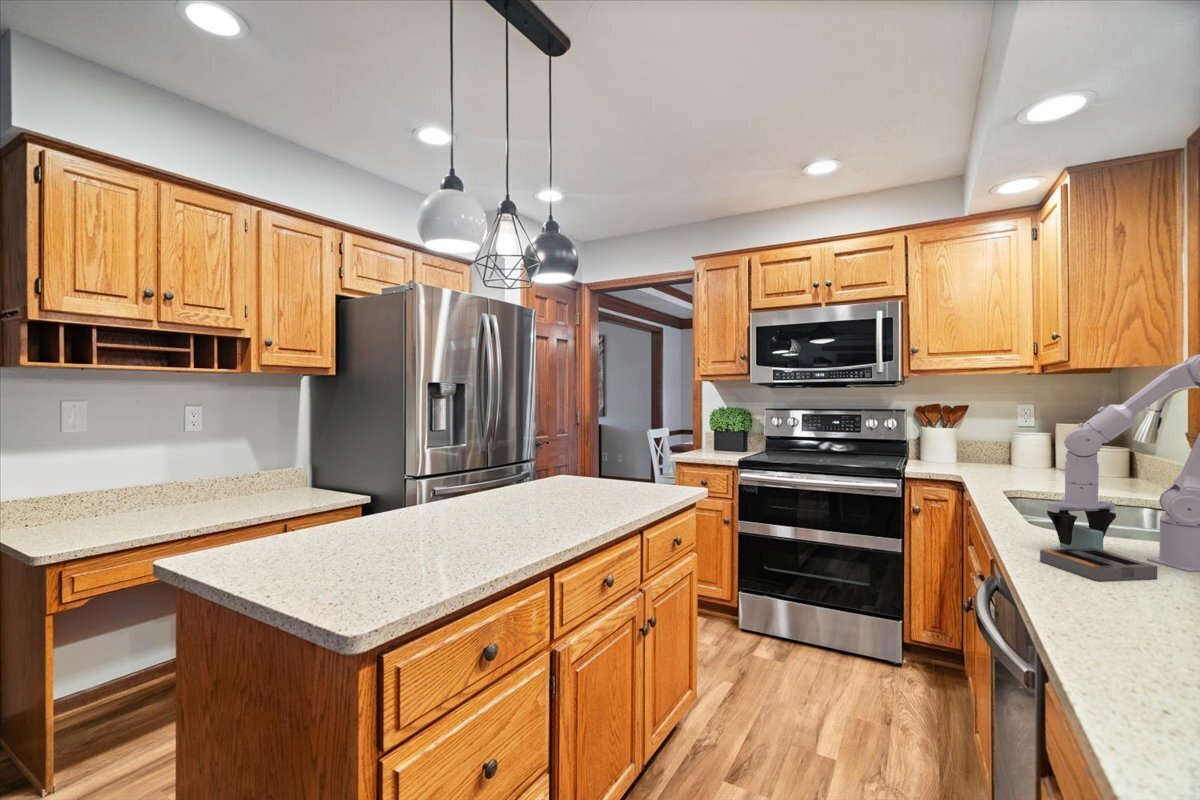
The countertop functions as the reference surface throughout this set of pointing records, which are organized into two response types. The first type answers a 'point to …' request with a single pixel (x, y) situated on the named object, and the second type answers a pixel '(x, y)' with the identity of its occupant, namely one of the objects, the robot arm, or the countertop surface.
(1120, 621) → the countertop surface
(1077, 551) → the panel rack
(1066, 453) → the robot arm
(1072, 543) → the panel
